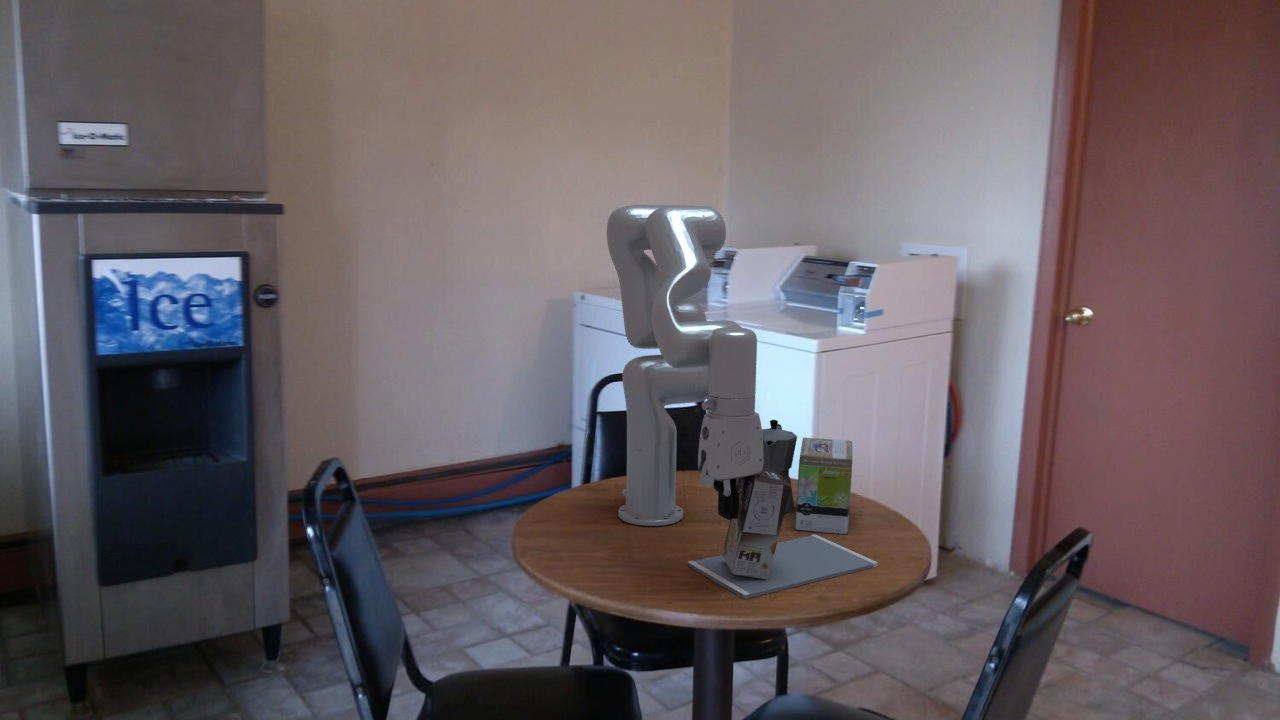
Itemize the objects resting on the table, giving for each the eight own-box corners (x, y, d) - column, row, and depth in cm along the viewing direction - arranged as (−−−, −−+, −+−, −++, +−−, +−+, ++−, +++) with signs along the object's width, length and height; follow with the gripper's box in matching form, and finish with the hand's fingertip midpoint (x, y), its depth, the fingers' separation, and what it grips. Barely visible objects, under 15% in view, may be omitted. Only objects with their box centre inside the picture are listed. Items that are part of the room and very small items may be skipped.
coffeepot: (790, 519, 191) (794, 428, 188) (742, 515, 193) (745, 425, 190) (799, 496, 206) (802, 412, 203) (754, 492, 208) (756, 409, 205)
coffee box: (769, 581, 159) (793, 486, 157) (731, 574, 158) (755, 479, 156) (755, 560, 168) (778, 470, 166) (720, 553, 167) (741, 463, 165)
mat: (687, 565, 167) (687, 561, 166) (814, 537, 181) (815, 534, 181) (744, 599, 153) (744, 594, 153) (877, 566, 167) (877, 562, 167)
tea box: (849, 535, 183) (853, 458, 180) (794, 531, 185) (797, 454, 182) (849, 510, 197) (852, 438, 195) (798, 506, 199) (801, 435, 197)
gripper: (705, 415, 149) (702, 531, 152) (783, 405, 157) (779, 516, 160) (678, 405, 156) (676, 517, 159) (754, 397, 163) (751, 503, 166)
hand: (728, 516), depth 159 cm, fingers closed
